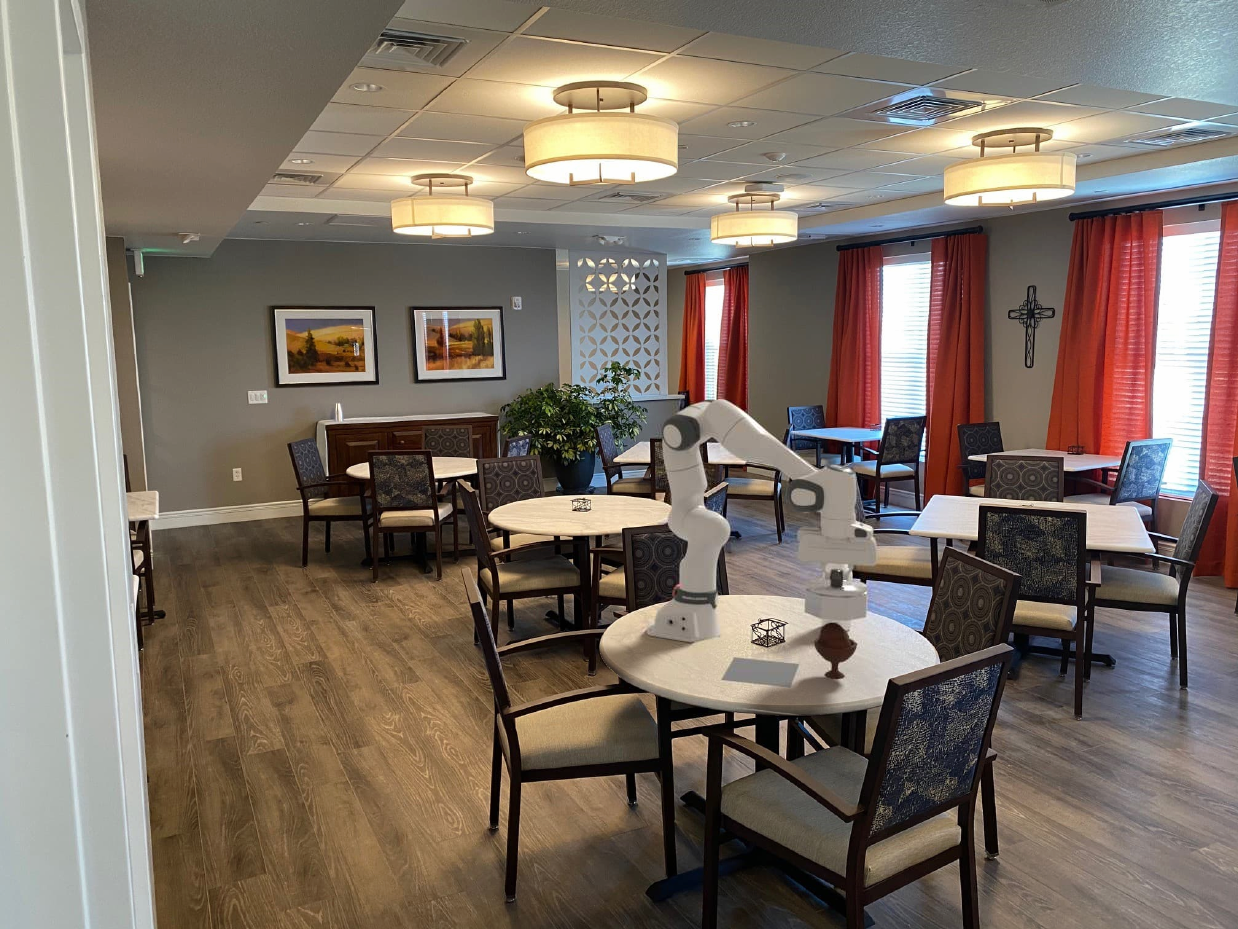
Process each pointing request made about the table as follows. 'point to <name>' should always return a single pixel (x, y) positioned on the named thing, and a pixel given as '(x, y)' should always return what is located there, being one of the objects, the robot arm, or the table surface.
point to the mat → (761, 672)
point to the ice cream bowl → (834, 647)
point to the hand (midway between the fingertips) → (836, 579)
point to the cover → (836, 598)
